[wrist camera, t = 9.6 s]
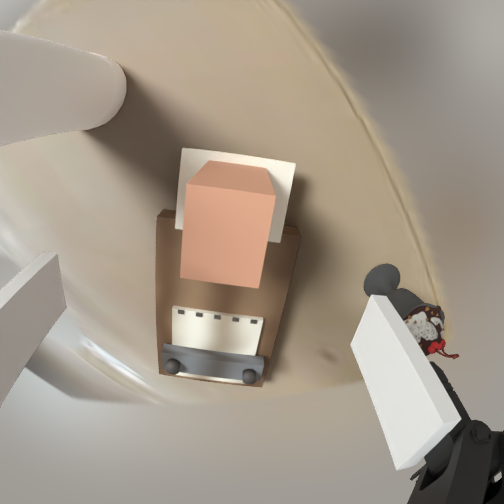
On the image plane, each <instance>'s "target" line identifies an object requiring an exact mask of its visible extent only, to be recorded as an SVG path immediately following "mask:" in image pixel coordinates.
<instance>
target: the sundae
mask: <svg viewBox="0 0 504 504" xmlns="http://www.w3.org/2000/svg"><path fill="white" fill-rule="evenodd" d="M399 282H400V274H399V271H398V269H397V268H396V267H395V266H393V265H391V264H382V265H379V266H377V267H375V268H374V269H372V270H371V271H370V272H369V274H368V275H367V277H366V279H365V281H364V290H365V293H366V294H367V295H368V296H369V297H370V296H371V295H381V296H387V298H388V299H389V301H390V302H391V304H392V305H393V307H394V308H395V310H396V311H397V313H398V314H399V316H400V317H401V319H402V320H403V322H404V323H405V325H406V326H407V328H408V329H409V331H410V332H411V334H412V335H413V337H414V339H415V340H416V342H417V343H418V345H419V346H420V348H421V350H422V351H423V353H424V354H425V356H427V355H429V354H433V353H435V352H437V353H439V354H441V355H443V356H445V357H449V358H450V357H451V358H453V359H455V358H457V357H459V355H458V354H454V355H448V354H446V353H445V352H444V349H443V348H444V347H445V344H446V342H445V340H444V339H442V337H443V330H444V328H443V324H444V319H445V317H444V312H443V311H442V310H441V308H440V306H434V305H431V304H428V303H424V302H423V301H422V300H421V299H419V298H418V297H417V296H416V295H415V294H413V293H412V292H410V291H409V290H407V289H404V288H400V289H396V288H397V286H398V284H399ZM395 289H396V290H395ZM438 350H442V352H443V353H444V354H445V355H444V354H442V353H441V352H439V351H438ZM446 355H447V356H446Z"/></svg>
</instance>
